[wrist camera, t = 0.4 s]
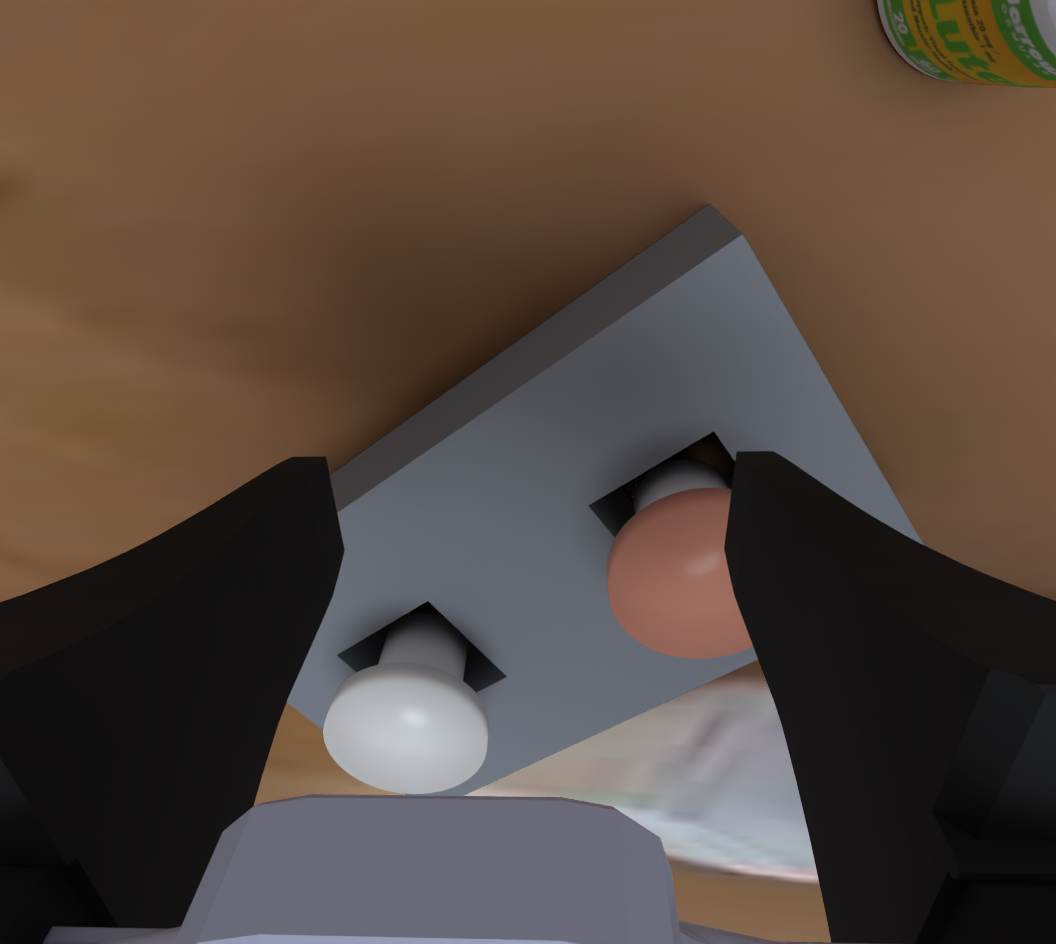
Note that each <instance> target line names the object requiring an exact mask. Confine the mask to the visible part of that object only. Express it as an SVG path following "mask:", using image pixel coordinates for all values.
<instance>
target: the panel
mask: <svg viewBox="0 0 1056 944" xmlns="http://www.w3.org/2000/svg"><path fill="white" fill-rule="evenodd" d="M713 431H714V432H715V433H716V435H717V436H718V438H719V439H720V441H721V442H722V444H723V445H724V446H725V448H726V449H727V451H728V452H729V454H730V455H731V457H732V458H733V459H734V461H735V460H736V453H737V451H774V452H775V453H777V454H779V455H781V456H782V457H784V458H786V459H787V460H789V461H790V462H792V463H793V464H795V465H796V466H798V467H799V468H801V469H802V470H804V471H805V472H806V473H808V474H809V475H811V476H812V477H814V478H815V479H817V480H818V481H819V482H821V483H822V484H824V485H825V486H827V487H828V488H830V489H831V490H833V491H834V492H836V493H837V494H839V495H840V496H842V497H843V498H845V499H846V500H848V501H849V502H851V503H852V504H854V505H855V506H857V507H858V508H860V509H862V510H863V511H865V512H866V513H868V514H870V515H871V516H873V517H875V518H876V519H878V520H880V521H881V522H883V523H885V524H887V525H888V526H890V527H892V528H893V529H895V530H897V531H899V532H900V533H902V534H904V535H905V536H907V537H909V538H911V539H913V540H915V541H917V542H919V543H920V544H922V545H923V543H922V541H921V540H920V538H919V536H918V534H917V533H916V531H915V529H914V528H913V526H912V524H911V522H910V521H909V519H908V517H907V516H906V514H905V512H904V510H903V509H902V507H901V505H900V503H899V502H898V500H897V498H896V497H895V495H894V493H893V491H892V490H891V488H890V486H889V485H888V483H887V481H886V479H885V478H884V476H883V474H882V473H881V471H880V469H879V467H878V466H877V464H876V462H875V460H874V459H873V457H872V455H871V454H870V452H869V450H868V448H867V447H866V445H865V443H864V442H863V440H862V438H861V436H860V435H859V433H858V431H857V430H856V428H855V426H854V424H853V423H852V421H851V419H850V418H849V416H848V414H847V412H846V411H845V409H844V407H843V405H842V404H841V402H840V400H839V399H838V397H837V395H836V393H835V392H834V390H833V388H832V387H831V385H830V383H829V381H828V380H827V378H826V376H825V375H824V373H823V371H822V369H821V368H820V366H819V364H818V363H817V361H816V359H815V357H814V356H813V354H812V352H811V350H810V349H809V347H808V345H807V344H806V342H805V340H804V338H803V337H802V335H801V333H800V332H799V330H798V328H797V326H796V325H795V323H794V321H793V320H792V318H791V316H790V314H789V313H788V311H787V309H786V308H785V306H784V304H783V302H782V301H781V299H780V297H779V295H778V294H777V292H776V290H775V289H774V287H773V285H772V283H771V282H770V280H769V278H768V277H767V275H766V273H765V271H764V270H763V268H762V266H761V265H760V263H759V261H758V259H757V258H756V256H755V254H754V253H753V251H752V249H751V247H750V246H749V244H748V242H747V240H746V239H745V237H744V235H743V234H742V233H741V232H740V231H739V230H738V229H737V228H736V227H734V226H733V225H732V224H731V223H730V222H729V221H728V220H727V219H726V218H724V217H723V216H722V215H721V214H720V213H719V212H718V211H717V210H716V209H715V208H713V207H712V206H711V205H710V204H708V205H707V206H705V207H704V208H703V209H701V210H700V211H698V212H697V213H696V214H694V215H693V216H691V217H690V218H689V219H687V220H686V221H684V222H683V223H682V224H680V225H679V226H677V227H676V228H675V229H673V230H672V231H671V232H669V233H668V234H666V235H665V236H664V237H662V238H661V239H659V240H658V241H657V242H655V243H654V244H652V245H651V246H650V247H648V248H647V249H645V250H644V251H643V252H641V253H640V254H638V255H637V256H636V257H634V258H633V259H631V260H630V261H629V262H627V263H626V264H624V265H623V266H622V267H620V268H619V269H617V270H616V271H615V272H613V273H612V274H610V275H609V276H608V277H606V278H605V279H603V280H602V281H601V282H599V283H598V284H596V285H595V286H594V287H592V288H591V289H589V290H588V291H587V292H585V293H584V294H582V295H581V296H580V297H578V298H577V299H575V300H574V301H573V302H571V303H570V304H568V305H567V306H566V307H564V308H563V309H561V310H560V311H559V312H557V313H556V314H555V315H553V316H552V317H550V318H549V319H548V320H546V321H545V322H543V323H542V324H541V325H539V326H538V327H536V328H535V329H534V330H532V331H531V332H529V333H528V334H527V335H525V336H524V337H522V338H521V339H520V340H518V341H517V342H515V343H514V344H513V345H511V346H510V347H508V348H507V349H506V350H504V351H503V352H501V353H500V354H499V355H497V356H496V357H494V358H493V359H492V360H490V361H489V362H487V363H486V364H485V365H483V366H482V367H480V368H479V369H478V370H476V371H475V372H473V373H472V374H471V375H469V376H468V377H466V378H465V379H464V380H462V381H461V382H459V383H458V384H457V385H455V386H454V387H452V388H451V389H450V390H448V391H447V392H445V393H444V394H443V395H441V396H440V397H439V398H437V399H436V400H434V401H433V402H432V403H430V404H429V405H427V406H426V407H425V408H423V409H422V410H420V411H419V412H418V413H416V414H415V415H413V416H412V417H411V418H409V419H408V420H406V421H405V422H404V423H402V424H401V425H399V426H398V427H397V428H395V429H394V430H392V431H391V432H390V433H388V434H387V435H385V436H384V437H383V438H381V439H380V440H378V441H377V442H376V443H374V444H373V445H371V446H370V447H369V448H367V449H366V450H364V451H363V452H362V453H360V454H359V455H357V456H356V457H355V458H353V459H352V460H350V461H349V462H348V463H346V464H345V465H343V466H342V467H341V468H339V469H338V470H336V471H335V472H334V473H332V474H331V475H330V480H331V485H332V490H333V495H334V500H335V504H336V509H337V514H338V519H339V524H340V529H341V534H342V539H343V544H344V549H345V552H344V556H343V560H342V564H341V568H340V572H339V576H338V579H337V583H336V586H335V590H334V593H333V597H332V599H331V602H330V604H329V606H328V609H327V611H326V613H325V616H324V618H323V620H322V623H321V625H320V627H319V630H318V632H317V634H316V636H315V639H314V641H313V643H312V645H311V648H310V650H309V652H308V654H307V657H306V659H305V661H304V663H303V666H302V668H301V670H300V673H299V675H298V677H297V679H296V682H295V684H294V686H293V688H292V691H291V693H290V695H289V697H288V700H287V703H289V704H290V705H291V706H293V707H294V708H295V709H296V710H298V711H299V712H300V713H301V714H303V715H304V716H305V717H307V718H308V719H309V720H310V721H312V722H313V723H314V724H316V725H317V726H318V727H319V728H321V729H322V730H323V729H324V723H325V720H326V716H327V714H328V711H329V708H330V705H331V702H332V699H333V696H334V695H335V693H336V691H337V689H338V688H339V687H340V685H341V684H342V683H343V682H344V681H345V680H346V679H347V678H349V677H350V676H352V675H353V674H355V673H357V672H359V671H361V670H363V669H365V668H368V667H371V666H375V665H378V663H379V660H380V656H381V653H382V649H383V646H384V643H385V639H386V636H387V633H388V630H389V629H390V627H391V626H392V625H393V624H394V623H395V622H396V621H397V620H399V619H401V618H402V617H405V614H407V613H408V612H410V611H412V610H413V609H415V608H417V607H418V606H420V605H422V604H423V603H425V602H427V601H429V602H430V603H431V604H432V605H433V606H434V607H435V608H436V609H437V610H438V611H439V612H440V613H441V614H442V615H443V616H444V617H445V618H446V619H447V620H448V621H449V622H451V623H452V624H453V625H454V626H455V627H456V628H457V629H458V630H459V631H460V632H461V633H462V634H463V635H464V636H465V637H466V639H467V644H468V650H467V657H466V664H465V670H464V677H463V682H465V683H466V684H467V685H468V686H470V687H471V688H472V689H473V690H474V691H475V692H476V693H477V694H478V696H479V697H480V698H481V700H482V701H483V703H484V705H485V707H486V709H487V712H488V716H489V734H488V744H487V753H486V756H485V760H484V762H483V764H482V766H481V767H480V768H479V770H478V771H477V772H476V773H475V774H474V775H473V776H472V777H471V778H469V779H468V780H466V781H465V782H463V783H461V784H460V785H458V786H455V787H453V788H450V789H447V790H444V791H440V792H434V793H426V794H405V793H404V794H405V795H406V796H464V795H466V794H468V793H470V792H472V791H475V790H477V789H479V788H481V787H483V786H485V785H488V784H490V783H492V782H494V781H496V780H498V779H500V778H503V777H505V776H507V775H509V774H511V773H513V772H516V771H518V770H520V769H522V768H524V767H526V766H529V765H531V764H533V763H535V762H537V761H539V760H542V759H544V758H546V757H548V756H550V755H552V754H554V753H557V752H559V751H561V750H563V749H565V748H567V747H570V746H572V745H574V744H576V743H578V742H580V741H583V740H585V739H587V738H589V737H591V736H593V735H596V734H598V733H600V732H602V731H604V730H606V729H608V728H611V727H613V726H615V725H617V724H619V723H621V722H624V721H626V720H628V719H630V718H632V717H634V716H637V715H639V714H641V713H643V712H645V711H647V710H650V709H652V708H654V707H656V706H658V705H660V704H662V703H665V702H667V701H669V700H671V699H673V698H675V697H678V696H680V695H682V694H684V693H686V692H688V691H691V690H693V689H695V688H697V687H699V686H701V685H704V684H706V683H708V682H710V681H712V680H714V679H716V678H719V677H721V676H723V675H725V674H727V673H729V672H732V671H734V670H736V669H738V668H740V667H742V666H745V665H747V664H749V663H751V662H753V661H755V660H758V658H757V655H756V652H755V650H754V647H751V648H748V649H746V650H743V651H741V652H737V653H734V654H731V655H726V656H721V657H715V658H706V659H691V658H680V657H675V656H670V655H666V654H663V653H659V652H657V651H655V650H652V649H650V648H648V647H646V646H644V645H642V644H641V643H639V642H638V641H636V640H635V639H634V638H632V637H631V636H630V635H629V634H628V633H627V632H626V631H625V630H624V629H623V628H622V626H621V625H620V624H619V622H618V621H617V619H616V617H615V615H614V613H613V611H612V608H611V605H610V600H609V593H608V583H607V559H608V554H609V551H610V548H611V545H612V543H613V541H614V539H615V537H616V535H617V534H618V533H619V531H620V530H621V528H622V527H623V526H624V525H625V524H626V523H627V521H628V520H629V519H630V518H631V517H633V516H634V515H635V511H634V504H633V502H632V501H631V499H630V498H629V497H628V496H627V494H626V493H625V492H624V490H623V489H622V488H621V487H620V486H622V485H624V484H625V483H627V482H629V481H631V480H632V479H634V478H636V477H637V476H639V475H641V474H642V473H644V472H646V471H647V470H649V469H651V468H652V467H654V466H656V465H657V464H659V463H661V462H663V461H664V460H666V459H668V458H669V457H671V456H673V455H674V454H676V453H678V452H679V451H681V450H683V449H684V448H686V447H688V446H689V445H691V444H693V443H695V442H696V441H698V440H700V439H701V438H703V437H705V436H706V435H708V434H710V433H711V432H713ZM733 476H734V473H732V474H730V475H729V476H727V477H725V480H726V482H727V485H728V487H729V489H732V483H733Z"/></svg>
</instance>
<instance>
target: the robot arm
mask: <svg viewBox="0 0 1056 944" xmlns="http://www.w3.org/2000/svg"><path fill="white" fill-rule="evenodd" d="M724 550H725V555H726V560H727V565H728V570H729V575H730V579H731V583H732V588H733V592H734V596H735V599H736V602H737V604H738V607H739V610H740V613H741V615H742V618H743V621H744V623H745V626H746V629H747V631H748V634H749V637H750V639H751V642H752V644H753V647H754V650H755V652H756V655H757V658H758V660H759V663H760V665H761V668H762V671H763V673H764V676H765V678H766V681H767V684H768V686H769V689H770V692H771V694H772V697H773V699H774V702H775V705H776V708H777V711H778V714H779V717H780V720H781V724H782V727H783V731H784V734H785V738H786V742H787V746H788V750H789V754H790V758H791V762H792V766H793V769H794V773H795V777H796V781H797V785H798V790H799V794H800V798H801V802H802V807H803V811H804V815H805V819H806V824H807V828H808V832H809V836H810V841H811V845H812V850H813V855H814V860H815V864H816V869H817V874H818V878H819V883H820V888H821V892H822V897H823V902H824V906H825V911H826V916H827V922H828V927H829V932H830V937H831V943H823V942H775V941H769V940H765V939H760V938H756V937H751V936H747V935H743V934H738V933H734V932H729V931H725V930H720V929H716V928H711V927H707V926H702V925H698V924H693V923H689V922H684V921H680V920H678V915H677V908H676V901H675V894H674V887H673V879H672V872H671V869H670V866H669V863H668V860H667V857H666V854H665V851H664V848H663V845H662V843H661V840H660V837H658V836H657V835H655V834H654V833H652V832H650V831H649V830H647V829H646V828H644V827H643V826H641V825H640V824H638V823H637V822H635V821H634V820H632V819H631V818H629V817H627V816H626V815H624V814H623V813H621V812H620V811H618V810H617V809H615V808H614V807H612V806H606V805H601V804H595V803H589V802H584V801H578V800H573V799H567V798H562V797H492V796H403V795H314V794H312V795H306V796H300V797H294V798H288V799H283V800H277V801H271V802H265V803H262V804H259V805H256V806H253V805H254V802H255V798H256V795H257V791H258V788H259V784H260V781H261V777H262V774H263V771H264V767H265V764H266V761H267V758H268V755H269V751H270V748H271V745H272V742H273V739H274V735H275V732H276V729H277V726H278V723H279V720H280V718H281V715H282V713H283V710H284V707H285V705H286V702H287V700H288V697H289V695H290V693H291V691H292V688H293V686H294V684H295V682H296V679H297V677H298V675H299V673H300V670H301V668H302V666H303V663H304V661H305V659H306V657H307V654H308V652H309V650H310V648H311V645H312V643H313V641H314V639H315V636H316V634H317V632H318V630H319V627H320V625H321V623H322V620H323V618H324V616H325V613H326V611H327V609H328V606H329V604H330V602H331V599H332V597H333V593H334V590H335V586H336V583H337V579H338V576H339V572H340V568H341V564H342V560H343V556H344V552H345V549H344V544H343V539H342V534H341V529H340V524H339V519H338V514H337V509H336V504H335V500H334V495H333V490H332V485H331V480H330V475H329V470H328V465H327V460H326V457H291V458H289V459H287V460H285V461H283V462H281V463H279V464H277V465H275V466H274V467H272V468H270V469H269V470H267V471H265V472H264V473H262V474H260V475H259V476H257V477H255V478H254V479H252V480H251V481H249V482H248V483H246V484H244V485H243V486H241V487H240V488H238V489H236V490H235V491H233V492H231V493H230V494H228V495H227V496H225V497H223V498H222V499H220V500H219V501H217V502H215V503H214V504H212V505H211V506H209V507H207V508H206V509H204V510H202V511H200V512H199V513H197V514H195V515H193V516H192V517H190V518H188V519H186V520H185V521H183V522H181V523H179V524H178V525H176V526H174V527H172V528H171V529H169V530H167V531H165V532H164V533H162V534H160V535H158V536H156V537H155V538H153V539H151V540H149V541H147V542H145V543H143V544H141V545H139V546H137V547H135V548H133V549H131V550H129V551H127V552H125V553H123V554H120V555H118V556H116V557H114V558H112V559H110V560H108V561H105V562H103V563H101V564H99V565H97V566H94V567H92V568H90V569H87V570H85V571H83V572H80V573H77V574H75V575H72V576H70V577H67V578H65V579H62V580H59V581H57V582H54V583H52V584H49V585H47V586H44V587H42V588H39V589H36V590H34V591H31V592H29V593H26V594H23V595H21V596H18V597H15V598H12V599H9V600H6V601H3V602H0V944H1056V601H1054V600H1051V599H1049V598H1046V597H1043V596H1040V595H1037V594H1034V593H1032V592H1029V591H1027V590H1024V589H1022V588H1019V587H1017V586H1014V585H1011V584H1009V583H1006V582H1004V581H1001V580H999V579H996V578H994V577H991V576H989V575H986V574H984V573H982V572H979V571H977V570H975V569H973V568H970V567H968V566H966V565H963V564H961V563H959V562H957V561H955V560H953V559H951V558H949V557H947V556H945V555H943V554H941V553H939V552H937V551H934V550H932V549H930V548H928V547H926V546H924V545H922V544H920V543H919V542H917V541H915V540H913V539H911V538H909V537H907V536H905V535H904V534H902V533H900V532H899V531H897V530H895V529H893V528H892V527H890V526H888V525H887V524H885V523H883V522H881V521H880V520H878V519H876V518H875V517H873V516H871V515H870V514H868V513H866V512H865V511H863V510H862V509H860V508H858V507H857V506H855V505H854V504H852V503H851V502H849V501H848V500H846V499H845V498H843V497H842V496H840V495H839V494H837V493H836V492H834V491H833V490H831V489H830V488H828V487H827V486H825V485H824V484H822V483H821V482H819V481H818V480H817V479H815V478H814V477H812V476H811V475H809V474H808V473H806V472H805V471H804V470H802V469H801V468H799V467H798V466H796V465H795V464H793V463H792V462H790V461H789V460H787V459H786V458H784V457H782V456H781V455H779V454H777V453H775V452H774V451H737V453H736V460H735V468H734V476H733V483H732V491H731V499H730V506H729V514H728V522H727V529H726V537H725V545H724Z"/></svg>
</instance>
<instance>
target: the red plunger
mask: <svg viewBox="0 0 1056 944" xmlns="http://www.w3.org/2000/svg"><path fill="white" fill-rule="evenodd" d="M731 491H732V489H729V487H728V485H727V482H726V480H725V478H724V477H723V475H722V474H721V473H720V472H719V471H718V470H717V469H716V468H714V467H713V466H711V465H709V464H707V463H705V462H702V461H699V460H694V459H677V460H672V461H668V462H665V463H663V464H661V465H659V466H657V467H655V468H654V469H652V470H651V471H649V472H648V473H647V474H646V475H645V476H644V477H643V478H642V480H641V481H640V483H639V484H638V486H637V488H636V491H635V494H634V503H633V504H634V511H635V515H634V516H633V517H631V518H630V519H629V520H628V521H627V523H626V524H625V525H624V526H623V527H622V528H621V530H620V531H619V533H618V534H617V535H616V537H615V539H614V541H613V543H612V545H611V548H610V551H609V554H608V559H607V583H608V593H609V600H610V605H611V608H612V611H613V613H614V615H615V617H616V619H617V621H618V622H619V624H620V625H621V626H622V628H623V629H624V630H625V631H626V632H627V633H628V634H629V635H630V636H631V637H632V638H634V639H635V640H636V641H638V642H639V643H641V644H642V645H644V646H646V647H648V648H650V649H652V650H655V651H657V652H659V653H663V654H666V655H670V656H675V657H680V658H691V659H706V658H715V657H721V656H726V655H731V654H734V653H737V652H741V651H743V650H746V649H748V648H751V647H753V644H752V642H751V639H750V637H749V634H748V631H747V629H746V626H745V623H744V621H743V618H742V615H741V613H740V610H739V607H738V604H737V602H736V599H735V596H734V592H733V588H732V583H731V579H730V575H729V570H728V565H727V560H726V555H725V550H724V545H725V537H726V529H727V522H728V514H729V506H730V499H731Z"/></svg>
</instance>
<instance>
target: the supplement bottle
mask: <svg viewBox="0 0 1056 944" xmlns="http://www.w3.org/2000/svg"><path fill="white" fill-rule="evenodd" d="M877 3H878V10H879V14H880V18H881V21H882V24H883V27H884V30H885V32H886V34H887V36H888V38H889V40H890V42H891V43H892V45H893V46H894V48H895V49H896V51H897V52H898V53H899V54H900V56H902V57H903V58H904V59H905V60H906V61H907V62H908V63H909V64H910V65H911V66H913V67H914V68H916V69H917V70H919V71H921V72H922V73H924V74H927V75H929V76H931V77H934V78H937V79H941V80H945V81H951V82H957V83H965V84H983V85H1003V86H1020V87H1041V88H1056V0H877Z"/></svg>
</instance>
